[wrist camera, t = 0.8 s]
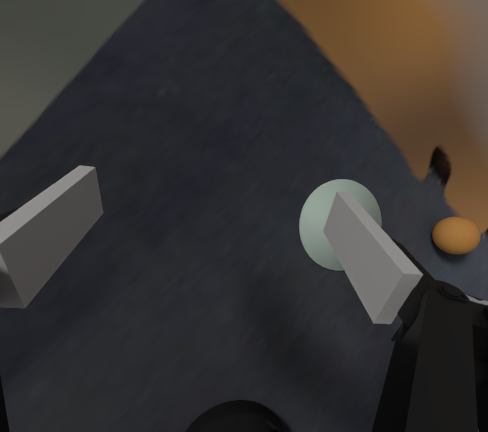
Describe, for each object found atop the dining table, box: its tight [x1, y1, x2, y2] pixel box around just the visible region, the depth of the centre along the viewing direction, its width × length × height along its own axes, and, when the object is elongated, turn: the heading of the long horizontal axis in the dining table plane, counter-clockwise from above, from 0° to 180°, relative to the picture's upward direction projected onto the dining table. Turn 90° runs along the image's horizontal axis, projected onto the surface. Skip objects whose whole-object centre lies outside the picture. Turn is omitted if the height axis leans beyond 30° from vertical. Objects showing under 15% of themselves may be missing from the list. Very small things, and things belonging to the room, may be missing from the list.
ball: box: [432, 217, 481, 254], centre depth 38 cm, size 6×6×6 cm
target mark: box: [299, 179, 382, 271], centre depth 37 cm, size 13×13×1 cm
